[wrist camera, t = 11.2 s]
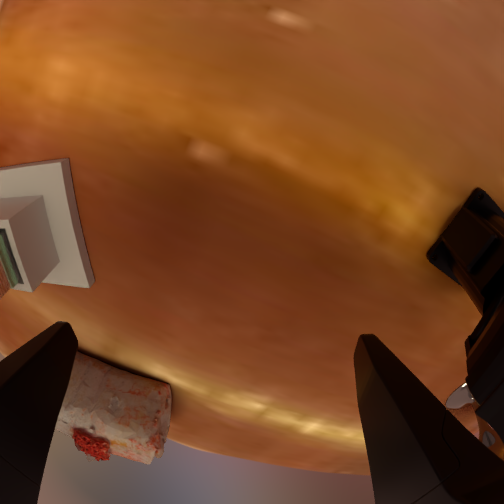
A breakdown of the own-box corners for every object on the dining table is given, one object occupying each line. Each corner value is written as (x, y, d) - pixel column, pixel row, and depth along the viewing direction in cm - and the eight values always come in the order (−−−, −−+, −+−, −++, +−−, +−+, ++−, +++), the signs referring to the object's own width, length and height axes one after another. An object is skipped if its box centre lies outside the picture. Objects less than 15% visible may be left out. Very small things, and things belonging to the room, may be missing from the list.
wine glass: (506, 366, 27) (549, 466, 14) (482, 403, 31) (512, 494, 18) (455, 380, 28) (493, 496, 15) (434, 416, 32) (459, 517, 19)
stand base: (68, 158, 18) (14, 188, 13) (95, 280, 23) (61, 329, 18) (-16, 170, 19) (-63, 198, 14) (13, 271, 24) (-22, 308, 19)
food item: (183, 380, 29) (160, 469, 21) (172, 415, 33) (154, 488, 25) (59, 333, 28) (15, 407, 19) (66, 375, 32) (34, 439, 23)
